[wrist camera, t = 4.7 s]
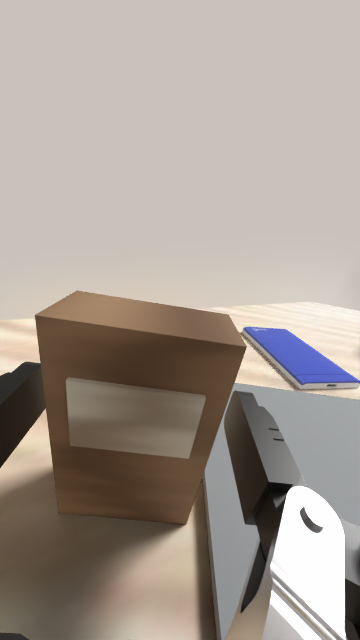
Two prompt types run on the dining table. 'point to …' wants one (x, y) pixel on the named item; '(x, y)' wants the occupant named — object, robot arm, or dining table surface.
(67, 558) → the dining table surface
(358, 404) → the grey mat
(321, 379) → the hard drive
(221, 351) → the brown cardboard box
